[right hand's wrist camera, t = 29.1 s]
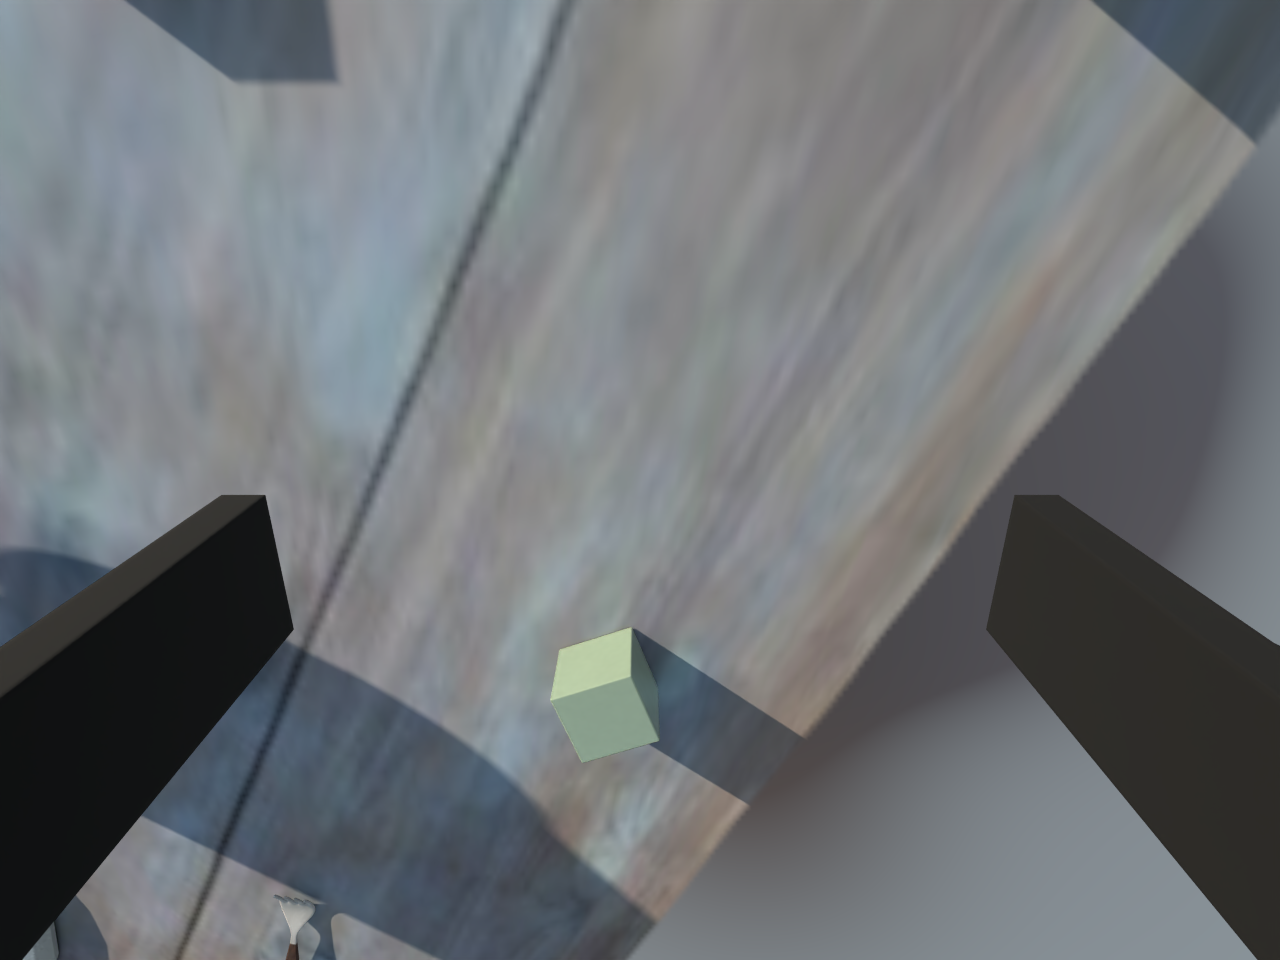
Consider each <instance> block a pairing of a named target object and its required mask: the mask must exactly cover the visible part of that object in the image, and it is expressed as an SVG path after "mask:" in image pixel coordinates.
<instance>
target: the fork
mask: <svg viewBox="0 0 1280 960" xmlns="http://www.w3.org/2000/svg"><path fill="white" fill-rule="evenodd" d="M273 898H276V899H278V900H279V901H280V904H281V908H282V910H283V913H284V915H285V917H286V920H287V922H288V924H289V927H290V930H291V941H290V945H289V949H288V953H287V957H286V960H299V954H298V944H297V934H298V932H299V930H300V929H301V928H302V927H303V926H304V925H305V924H306V923H307V921H308V920H309V919H310V918H311V917H312V916H313V914H314V913H315V906H314V905H313V903H312V902H310V901H308V900H304V901H301V900H300V899H297V898H295V899H294V900H292V899H291V898H289V897H284V898H282V897H280V896H278V895H274V897H273ZM295 901H296V902H295ZM306 903H307V904H306Z"/></svg>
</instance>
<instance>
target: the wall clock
mask: <svg viewBox="0 0 1280 960" xmlns="http://www.w3.org/2000/svg"><path fill="white" fill-rule="evenodd" d="M58 954H59V951H58V944H57V938H56V932H55V926H54V922H53V923H52V924H51V926H50V927H49V928H48V929H47V931H46V932H45V933H44V934H43V935H42V937H41V938H40V939H39V940H38V941H37V943H36V944H35V945H34V946H33V948H32V949H31V950H30V951H29V952H28V954H27V955H26V956H25V957H24V959H23V960H57V958H58Z"/></svg>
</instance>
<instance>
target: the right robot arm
mask: <svg viewBox="0 0 1280 960" xmlns="http://www.w3.org/2000/svg"><path fill="white" fill-rule="evenodd" d="M293 630H294V628H293V623H292V619H291V614H290V609H289V605H288V600H287V595H286V590H285V586H284V581H283V576H282V571H281V567H280V562H279V557H278V553H277V548H276V543H275V538H274V534H273V529H272V524H271V520H270V515H269V510H268V505H267V501H266V496H265V495H221V496H219V497H218V498H217V499H215V500H214V501H212V502H211V503H209V504H208V505H206V506H205V507H203V508H202V509H201V510H199V511H198V512H196V513H195V514H193V515H192V516H190V517H189V518H187V519H186V520H185V521H183V522H182V523H180V524H179V525H177V526H176V527H174V528H173V529H171V530H170V531H168V532H167V533H166V534H164V535H163V536H161V537H160V538H158V539H157V540H155V541H154V542H152V543H151V544H150V545H148V546H147V547H145V548H144V549H142V550H141V551H139V552H138V553H136V554H135V555H134V556H132V557H131V558H129V559H128V560H126V561H125V562H123V563H122V564H120V565H119V566H118V567H116V568H115V569H113V570H112V571H110V572H109V573H107V574H106V575H104V576H103V577H101V578H100V579H99V580H97V581H96V582H94V583H93V584H91V585H90V586H88V587H87V588H85V589H84V590H83V591H81V592H80V593H78V594H77V595H75V596H74V597H72V598H71V599H69V600H68V601H67V602H65V603H64V604H62V605H61V606H59V607H58V608H56V609H55V610H53V611H52V612H51V613H49V614H48V615H46V616H45V617H43V618H42V619H40V620H39V621H37V622H36V623H35V624H33V625H32V626H30V627H29V628H27V629H26V630H24V631H23V632H21V633H20V634H18V635H17V636H16V637H14V638H13V639H11V640H10V641H8V642H7V643H5V644H4V645H2V646H1V647H0V960H23V959H24V957H25V956H26V955H27V954H28V952H29V951H30V950H31V949H32V948H33V946H34V945H35V944H36V943H37V941H38V940H39V939H40V938H41V937H42V935H43V934H44V933H45V932H46V931H47V929H48V928H49V927H50V926H51V924H52V923H53V922H54V921H55V920H56V918H57V917H58V916H59V915H60V913H61V912H62V911H63V910H64V909H65V907H66V906H67V905H68V904H69V903H70V901H71V900H72V899H73V898H74V896H75V895H76V894H77V893H78V892H79V890H80V889H81V888H82V887H83V885H84V884H85V883H86V882H87V881H88V879H89V878H90V877H91V876H92V875H93V873H94V872H95V871H96V870H97V868H98V867H99V866H100V865H101V864H102V862H103V861H104V860H105V859H106V857H107V856H108V855H109V854H110V853H111V851H112V850H113V849H114V848H115V846H116V845H117V844H118V843H119V842H120V840H121V839H122V838H123V837H124V836H125V834H126V833H127V832H128V831H129V829H130V828H131V827H132V826H133V825H134V823H135V822H136V821H137V820H138V818H139V817H140V816H141V815H142V814H143V812H144V811H145V810H146V809H147V808H148V806H149V805H150V804H151V803H152V801H153V800H154V799H155V798H156V797H157V795H158V794H159V793H160V792H161V790H162V789H163V788H164V787H165V786H166V784H167V783H168V782H169V781H170V780H171V778H172V777H173V776H174V775H175V773H176V772H177V771H178V770H179V769H180V767H181V766H182V765H183V764H184V762H185V761H186V760H187V759H188V758H189V756H190V755H191V754H192V753H193V752H194V750H195V749H196V748H197V747H198V745H199V744H200V743H201V742H202V741H203V739H204V738H205V737H206V736H207V734H208V733H209V732H210V731H211V730H212V728H213V727H214V726H215V725H216V723H217V722H218V721H219V720H220V719H221V717H222V716H223V715H224V714H225V713H226V711H227V710H228V709H229V708H230V706H231V705H232V704H233V703H234V702H235V700H236V699H237V698H238V697H239V695H240V694H241V693H242V692H243V691H244V689H245V688H246V687H247V686H248V685H249V683H250V682H251V681H252V680H253V678H254V677H255V676H256V675H257V674H258V672H259V671H260V670H261V669H262V667H263V666H264V665H265V664H266V663H267V661H268V660H269V659H270V658H271V657H272V655H273V654H274V653H275V652H276V650H277V649H278V648H279V647H280V646H281V644H282V643H283V642H284V641H285V639H286V638H287V637H288V636H289V635H290V633H291V632H292V631H293ZM986 630H987V631H988V632H989V633H990V635H991V636H992V637H993V638H994V639H995V641H996V642H997V643H998V644H999V646H1000V647H1001V648H1002V649H1003V650H1004V652H1005V653H1006V654H1007V655H1008V657H1009V658H1010V659H1011V660H1012V661H1013V663H1014V664H1015V665H1016V666H1017V667H1018V669H1019V670H1020V671H1021V672H1022V673H1023V675H1024V676H1025V677H1026V678H1027V680H1028V681H1029V682H1030V683H1031V684H1032V686H1033V687H1034V688H1035V689H1036V691H1037V692H1038V693H1039V694H1040V695H1041V697H1042V698H1043V699H1044V700H1045V701H1046V703H1047V704H1048V705H1049V706H1050V708H1051V709H1052V710H1053V711H1054V713H1055V714H1056V715H1057V716H1058V717H1059V719H1060V720H1061V721H1062V722H1063V723H1064V725H1065V726H1066V727H1067V728H1068V730H1069V731H1070V732H1071V733H1072V734H1073V736H1074V737H1075V738H1076V739H1077V741H1078V742H1079V743H1080V744H1081V745H1082V747H1083V748H1084V749H1085V750H1086V752H1087V753H1088V754H1089V755H1090V756H1091V758H1092V759H1093V760H1094V761H1095V762H1096V764H1097V765H1098V766H1099V767H1100V769H1101V770H1102V771H1103V772H1104V773H1105V775H1106V776H1107V777H1108V778H1109V779H1110V781H1111V782H1112V783H1113V784H1114V786H1115V787H1116V788H1117V789H1118V790H1119V792H1120V793H1121V794H1122V795H1123V797H1124V798H1125V799H1126V800H1127V801H1128V803H1129V804H1130V805H1131V806H1132V808H1133V809H1134V810H1135V811H1136V812H1137V814H1138V815H1139V816H1140V817H1141V818H1142V820H1143V821H1144V822H1145V823H1146V825H1147V826H1148V827H1149V828H1150V829H1151V831H1152V832H1153V833H1154V834H1155V836H1156V837H1157V838H1158V839H1159V840H1160V842H1161V843H1162V844H1163V845H1164V846H1165V848H1166V849H1167V850H1168V851H1169V853H1170V854H1171V855H1172V856H1173V857H1174V859H1175V860H1176V861H1177V862H1178V864H1179V865H1180V866H1181V867H1182V868H1183V870H1184V871H1185V872H1186V873H1187V874H1188V876H1189V877H1190V878H1191V879H1192V881H1193V882H1194V883H1195V884H1196V885H1197V887H1198V888H1199V889H1200V890H1201V891H1202V893H1203V894H1204V895H1205V896H1206V898H1207V899H1208V900H1209V901H1210V902H1211V904H1212V905H1213V906H1214V907H1215V909H1216V910H1217V911H1218V912H1219V913H1220V915H1221V916H1222V917H1223V918H1224V920H1225V921H1226V922H1227V923H1228V924H1229V926H1230V927H1231V928H1232V929H1233V931H1234V932H1235V933H1236V934H1237V935H1238V937H1239V938H1240V939H1241V940H1242V941H1243V943H1244V944H1245V945H1246V946H1247V948H1248V949H1249V950H1250V951H1251V952H1252V954H1253V955H1254V956H1255V957H1256V959H1257V960H1280V646H1279V645H1277V644H1275V643H1273V642H1272V641H1270V640H1269V639H1267V638H1266V637H1264V636H1263V635H1262V634H1260V633H1259V632H1257V631H1256V630H1254V629H1253V628H1251V627H1250V626H1248V625H1247V624H1245V623H1244V622H1243V621H1241V620H1240V619H1238V618H1237V617H1235V616H1234V615H1232V614H1231V613H1229V612H1228V611H1227V610H1225V609H1224V608H1222V607H1221V606H1219V605H1218V604H1216V603H1215V602H1213V601H1212V600H1211V599H1209V598H1208V597H1206V596H1205V595H1203V594H1202V593H1200V592H1199V591H1197V590H1196V589H1194V588H1193V587H1192V586H1190V585H1189V584H1187V583H1186V582H1184V581H1183V580H1181V579H1180V578H1178V577H1177V576H1176V575H1174V574H1173V573H1171V572H1170V571H1168V570H1167V569H1165V568H1164V567H1162V566H1161V565H1160V564H1158V563H1157V562H1155V561H1154V560H1152V559H1151V558H1149V557H1148V556H1146V555H1145V554H1144V553H1142V552H1141V551H1139V550H1138V549H1136V548H1135V547H1133V546H1132V545H1130V544H1129V543H1128V542H1126V541H1125V540H1123V539H1122V538H1120V537H1119V536H1117V535H1116V534H1114V533H1113V532H1112V531H1110V530H1109V529H1107V528H1106V527H1104V526H1103V525H1101V524H1100V523H1098V522H1097V521H1095V520H1094V519H1093V518H1091V517H1090V516H1088V515H1087V514H1085V513H1084V512H1082V511H1081V510H1079V509H1078V508H1077V507H1075V506H1074V505H1072V504H1071V503H1069V502H1068V501H1066V500H1065V499H1063V498H1062V497H1061V496H1059V495H1015V496H1014V501H1013V505H1012V510H1011V515H1010V520H1009V524H1008V529H1007V534H1006V538H1005V543H1004V548H1003V553H1002V557H1001V562H1000V567H999V572H998V576H997V581H996V586H995V590H994V595H993V600H992V605H991V609H990V614H989V619H988V623H987V628H986Z"/></svg>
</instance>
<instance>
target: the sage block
mask: <svg viewBox="0 0 1280 960" xmlns="http://www.w3.org/2000/svg"><path fill="white" fill-rule="evenodd" d="M551 702H552V704H553V706H554V708H555V710H556V712H557V714H558V716H559V718H560V720H561V722H562V724H563V726H564V728H565V730H566V732H567V734H568V736H569V738H570V740H571V742H572V744H573V746H574V748H575V750H576V752H577V754H578V756H579V758H580V760H581V762H582V763H585V762H588V761H592V760H595V759H599V758H602V757H605V756H609V755H612V754H616V753H619V752H623V751H626V750H630V749H633V748H637V747H640V746H644V745H647V744H651V743H654V742H657V741H660V732H659V705H658V686H657V684H656V682H655V679H654V677H653V675H652V672H651V670H650V668H649V665H648V663H647V661H646V658H645V656H644V654H643V651H642V649H641V647H640V645H639V642H638V640H637V638H636V635H635V633H634V631H633V628H632V627H630V628H627V629H624V630H621V631H617V632H614V633H611V634H608V635H605V636H601V637H598V638H595V639H592V640H589V641H585V642H582V643H579V644H576V645H573V646H569V647H566V648H563V649H560V650H559V656H558V661H557V667H556V672H555V678H554V683H553V689H552V694H551Z"/></svg>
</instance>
